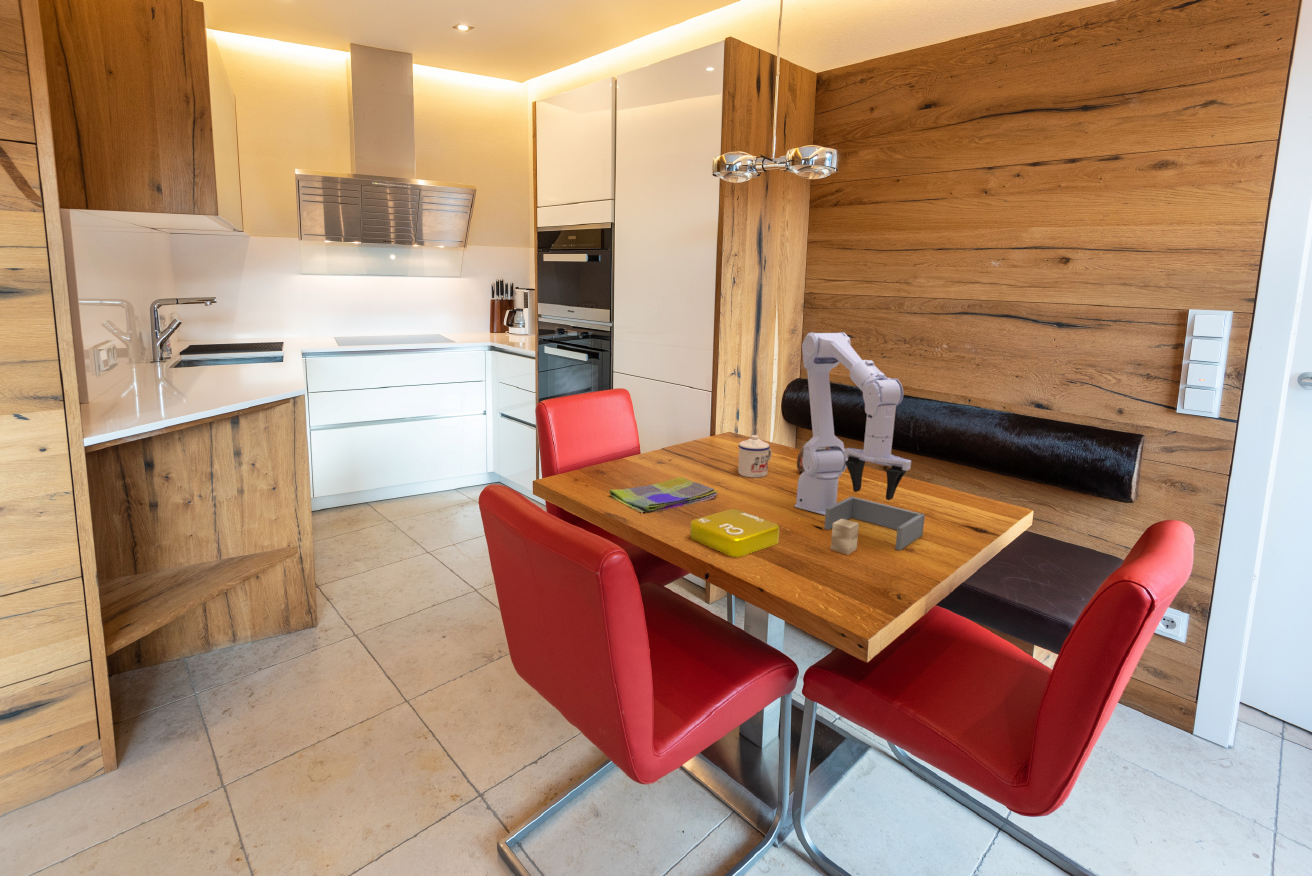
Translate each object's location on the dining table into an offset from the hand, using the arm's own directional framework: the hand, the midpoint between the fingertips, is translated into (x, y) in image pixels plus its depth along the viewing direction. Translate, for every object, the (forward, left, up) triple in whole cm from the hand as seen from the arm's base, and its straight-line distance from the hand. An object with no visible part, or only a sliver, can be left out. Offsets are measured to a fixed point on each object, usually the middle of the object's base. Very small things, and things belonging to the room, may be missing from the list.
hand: (872, 494), depth 148 cm
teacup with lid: (-48, +25, -11) cm, 55 cm away
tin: (-38, +40, -11) cm, 56 cm away
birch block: (-1, -10, -10) cm, 14 cm away
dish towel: (-52, -11, -11) cm, 54 cm away
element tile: (-21, -22, -11) cm, 32 cm away
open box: (-1, +4, -10) cm, 11 cm away
